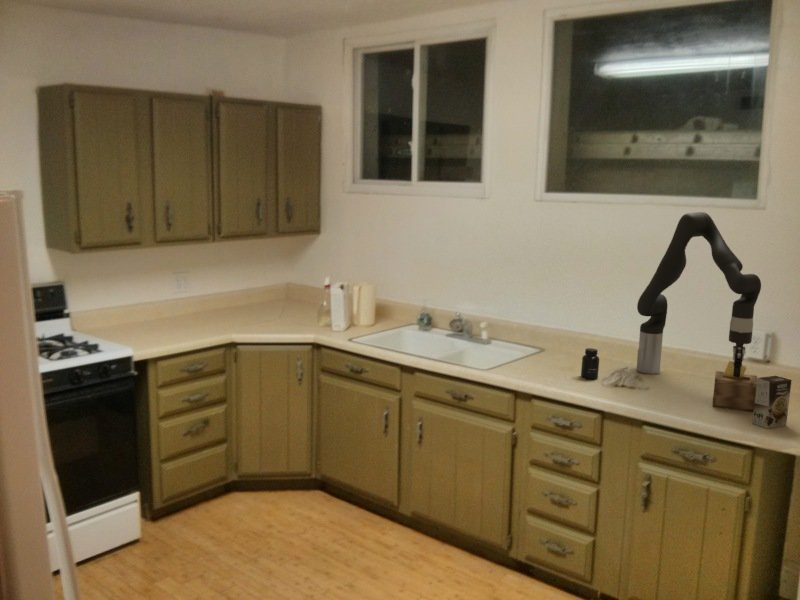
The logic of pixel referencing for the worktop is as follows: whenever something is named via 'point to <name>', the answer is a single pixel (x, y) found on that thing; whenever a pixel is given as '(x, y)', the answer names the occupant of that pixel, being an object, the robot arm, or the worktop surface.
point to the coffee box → (772, 401)
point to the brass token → (730, 371)
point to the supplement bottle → (590, 364)
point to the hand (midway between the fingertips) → (736, 375)
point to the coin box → (735, 392)
